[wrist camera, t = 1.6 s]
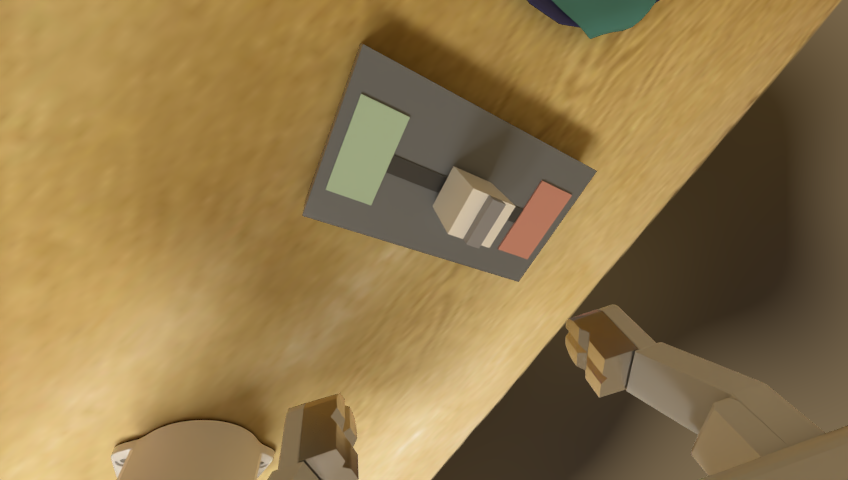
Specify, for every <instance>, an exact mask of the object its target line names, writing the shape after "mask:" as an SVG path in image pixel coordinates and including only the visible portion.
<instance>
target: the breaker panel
mask: <svg viewBox="0 0 848 480" xmlns="http://www.w3.org/2000/svg"><path fill="white" fill-rule="evenodd" d="M453 166H454V167H457V168H459V169H461V170H464V171H466V172H468V173H470V174H473V175H475V176H477V177H479V178H482V179H484V180H486V181H488V182H491V183H492V184H493V185H494V186H495V187H496V188H497V189H498V190H499V191H500V192H501V193H502V194H503V195H505V196H506V197H507V198H508V199H509V200H510V201H511V202H512V203H513V204H514V205H515V206H516V207H515V208H514V210H513V212H512V213H511V215H510V216H509V218H508V219H507V221H506V223H505V224H504V226H503V227H502V229H501V230H500V232H499V234H498V235H497V237H496V238H495V240H494V241H493V243H492V245H491V246H490V248H487V247H485V246H482V245H481V246H480V248H479V249H478V248H476V247H473V246H470V245H467V244H466V243H465V242H464V240H463V239H461V238H458V237H455V236H452V235H450V234H448V233H447V232H446V230H445V228H444V226H443V224H442V223H441V221H440V219H439V217H438V215H437V214H436V212H435V210H434V208H433V204H434V202H435V201H436V199H437V197H438V195H439V193H440V191H441V189H442V187H443V185H444V183H445V181H446V180H447V178H448V176H449V174H450V172H451V170H452V168H453ZM596 172H597V171H596V170H594V169H592V168H590V167H589V166H587V165H585V164H583V163H581V162H579V161H577V160H576V159H574V158H572V157H570V156H568V155H566V154H565V153H563V152H561V151H559V150H557V149H555V148H554V147H552V146H550V145H548V144H546V143H544V142H542V141H541V140H539V139H537V138H535V137H533V136H531V135H530V134H528V133H526V132H524V131H522V130H520V129H519V128H517V127H515V126H513V125H511V124H509V123H508V122H506V121H504V120H502V119H500V118H498V117H496V116H495V115H493V114H491V113H489V112H487V111H485V110H484V109H482V108H480V107H478V106H476V105H474V104H473V103H471V102H469V101H467V100H465V99H463V98H461V97H460V96H458V95H456V94H454V93H452V92H450V91H449V90H447V89H445V88H443V87H441V86H439V85H438V84H436V83H434V82H432V81H430V80H428V79H427V78H425V77H423V76H421V75H419V74H417V73H415V72H414V71H412V70H410V69H408V68H406V67H404V66H403V65H401V64H399V63H397V62H395V61H393V60H392V59H390V58H388V57H386V56H384V55H382V54H380V53H379V52H377V51H375V50H373V49H371V48H369V47H368V46H366V45H364V44H360V46H359V49H358V52H357V55H356V58H355V61H354V64H353V66H352V69H351V72H350V75H349V78H348V81H347V83H346V86H345V89H344V92H343V95H342V98H341V101H340V103H339V106H338V109H337V112H336V115H335V118H334V121H333V123H332V126H331V129H330V132H329V135H328V138H327V141H326V143H325V146H324V149H323V152H322V155H321V158H320V161H319V163H318V166H317V169H316V172H315V175H314V178H313V181H312V183H311V186H310V189H309V192H308V195H307V198H306V200H305V205H304V210H303V215H302V216H305V217H308V218H311V219H315V220H318V221H321V222H325V223H328V224H331V225H334V226H338V227H341V228H344V229H347V230H351V231H354V232H357V233H361V234H364V235H367V236H370V237H374V238H377V239H380V240H383V241H387V242H390V243H393V244H397V245H400V246H403V247H406V248H410V249H413V250H416V251H419V252H423V253H426V254H429V255H433V256H436V257H439V258H442V259H446V260H449V261H452V262H455V263H459V264H462V265H465V266H469V267H472V268H475V269H478V270H482V271H485V272H488V273H491V274H495V275H498V276H501V277H505V278H508V279H511V280H514V281H518V282H519V280H520V279H521V278H522V276H523V275H524V273H525V272H526V270H527V269H528V268H529V266H530V265H531V263H532V262H533V261H534V259H535V258H536V256H537V255H538V254H539V252H540V251H541V249H542V248H543V247H544V245H545V244H546V242H547V241H548V239H549V238H550V237H551V235H552V234H553V232H554V231H555V230H556V228H557V227H558V225H559V224H560V223H561V221H562V220H563V218H564V217H565V215H566V214H567V213H568V211H569V210H570V208H571V207H572V206H573V204H574V203H575V201H576V200H577V199H578V197H579V196H580V194H581V193H582V192H583V190H584V189H585V187H586V186H587V184H588V183H589V182H590V180H591V179H592V177H593V176H594V175H595V173H596Z"/></svg>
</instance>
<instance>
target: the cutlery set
mask: <svg viewBox="0 0 848 480" xmlns="http://www.w3.org/2000/svg"><path fill="white" fill-rule="evenodd" d="M527 1H528V2H529V4H531V5H532V6H534V7H535V8H537V9H538V10H540V11H541V12H543V13H544V14H545V15H547V16H548V17H550V18H551V19H553V20H554V21H556V22H557V23H559V24H562V25H568V26H574V27H581V28H582V30H583V31H584V32H585V33H586V34H587V36H588V37H589V38H590V39H592V38H594V37H597V36H600V35H603V34H607V33H611V32H617V31H623V30H626V29H628V28H631V27H633V26H634V25H635V24H637V23H638V22H639V21H640V20H642V18H643V17H644V16H645V15H646V14H647V13H648V12H649V10H650V9H651V8H652V6H653V5H654V3H656V2H658V1H659V0H527Z"/></svg>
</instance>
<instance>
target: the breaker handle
mask: <svg viewBox="0 0 848 480" xmlns="http://www.w3.org/2000/svg"><path fill="white" fill-rule="evenodd" d="M515 207H516V206H515V205H514V204H513V203H512V202H511V201H510V200H509V199H508V198H507V197H506V196H505V195H503V194H502V193H501V192H500V191H499V190H498V189H497V188H496V187H495V186H494V185H493V184H492V183H491V182H488V181H486V180H484V179H482V178H479V177H477V176H475V175H473V174H470V173H468V172H466V171H464V170H461V169H459V168H457V167H454V166H453V168H452V170H451V172H450V174H449V176H448V178H447V180H446V181H445V183H444V185H443V187H442V189H441V191H440V193H439V195H438V197H437V199H436V201H435V202H434V204H433V208H434V210H435V212H436V214H437V215H438V217H439V219H440V221H441V223H442V224H443V226H444V228H445V230H446V232H447V233H448V234H450V235H452V236H455V237H458V238H461V239H463V240H464V242H465V243H466V244H467V245H470V246H473V247H476V248H478V249H479V248H480V246H481V245H482V246H485V247H487V248H490V246H491V245H492V243H493V241H494V240H495V238H496V237H497V235H498V234H499V232H500V230H501V229H502V227H503V226H504V224H505V223H506V221H507V219H508V218H509V216H510V215H511V213H512V212H513V210H514V208H515Z"/></svg>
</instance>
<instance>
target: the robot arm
mask: <svg viewBox="0 0 848 480" xmlns="http://www.w3.org/2000/svg"><path fill="white" fill-rule="evenodd" d="M566 328H567V329H568V331H569V333H568V334H567V336H566V347H567V350H568V353H569V355H570V356H571V358H572V360H573V361H574V363H575V364H576V366H578V367H580V368H582V369H584V370H586V376H585V378H586V380H587V381H588V382H589V384H590V385H591V387H592V388H593V389H594V391H595V392H596V393H597V395H598V396H599V397H602V396H605V395H609V394H612V393H615V392H618V391H622V390H625V389H627V390H626V391H627V392H629V393H631V394H632V395H634V396H635V397H637V398H639V399H640V400H642V401H644V402H645V403H647V404H649V405H650V406H652V407H654V408H655V409H657V410H658V411H660V412H662V413H663V414H665V415H667V416H668V417H670V418H672V419H673V420H675V421H676V422H678V423H680V424H681V425H683V426H684V427H686V428H688V429H689V430H691V431H693V432H694V433H696V434H698V436H697V438H696V441H695V443H694V445H693V447H692V450H691V455H692V456H693V458H695V460H696V461H697V462H698V464H699V465H700V466H701V467H702V468H703V470H704V471H705V472H706V473H707V475H708V476H707V477H704V478H701V479H699V480H848V425H847V426H844V427H841V428H839V429H836V430H833V431H830V432H828V433H825V432H824V431H822V430H821V429H820V428H819V427H817V426H816V425H815V424H814V423H813V422H811V421H810V420H809V419H808V418H807V417H805V416H804V415H803V414H802V413H800V412H799V411H798V410H797V409H796V408H794V407H793V406H792V405H791V404H790V403H788V402H787V401H786V400H785V399H783V398H782V397H781V396H780V395H779V394H777V393H776V392H775V391H774V390H773V389H771V388H770V387H769V386H768V385H766V384H765V383H763V382H760V381H758V380H755V379H753V378H750V377H748V376H745V375H742V374H740V373H738V372H735V371H733V370H730V369H727V368H725V367H722V366H720V365H717V364H715V363H712V362H710V361H707V360H705V359H702V358H700V357H697V356H695V355H692V354H690V353H687V352H685V351H682V350H680V349H677V348H675V347H672V346H670V345H667V344H665V343H656V342H654V341H653V339H651V338H650V337H649V336H648V335H647V334H646V333H645V332H644V331H643V330H642V329H641V328H640V327H639V326H638V325H637V324H636V323H635V322H634V321H633V320H631V319H630V317H629V316H628V315H626V314H625V313H624V312H623V311H622V310H621V309H620V308H619V307H618V306H616V305H610V306H607V307H604V308H601V309H598V310H593V311H590V312H587V313H584V314H581V315H578V316H576V317H572V318H569V319H568V320H567V321H566ZM356 440H357V429H356V423H355V418H354V415H353V412H352V410H351V409H350V407H348V406H345V399H344V397H343V396H342V394H341V393H338V394H335V395H331V396H328V397H325V398H321V399H318V400H315V401H311V402H308V403H304V404H301V405H298V406H295V407H292V408H289V409H288V412H287V414H286V418H285V425H284V431H283V438H282V445H281V452H280V458H279V465H278V470H275V471H273V472H272V473H271V475H270V476H269V478H268V480H358V479H359V478H358V454H357V453H356V451H355V450H354V448H353V446H354V444H355V442H356ZM274 454H275V451H274V450H273V449H271V448H269V447H267V446H265V445H263V444H261V443H260V442H259V441H258V440H257V438H256V437H255V436H254V435H253V434H252V433H251V432H249V431H248V430H246V429H244V428H242V427H240V426H238V425H235V424H231V423H227V422H222V421H214V420H192V421H184V422H178V423H174V424H170V425H167V426H164V427H161V428H159V429H156V430H154V431H152V432H151V433H149V434H147V435H146V436H144V437H142V438H140V439H138V440H133V441H130V442H126V443H122V444H120V445H117V446H116V447H115V448H114V450H113V452H112V455H111V460H112V463H113V467H114V470H115V473H116V477H117V480H257V478H258V477H259V476H260V475H261V474H262V472H263V471H264V470H265V469H266V468H267V467H268V465H269V464H270V463H271V462H272V461H273V458H274Z"/></svg>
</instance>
